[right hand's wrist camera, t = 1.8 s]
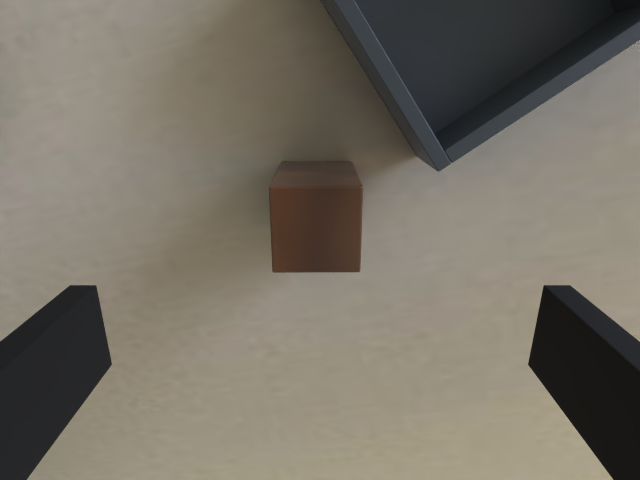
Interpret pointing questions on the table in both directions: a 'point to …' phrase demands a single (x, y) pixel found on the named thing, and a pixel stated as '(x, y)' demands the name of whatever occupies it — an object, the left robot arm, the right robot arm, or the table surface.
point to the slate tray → (477, 60)
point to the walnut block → (316, 217)
